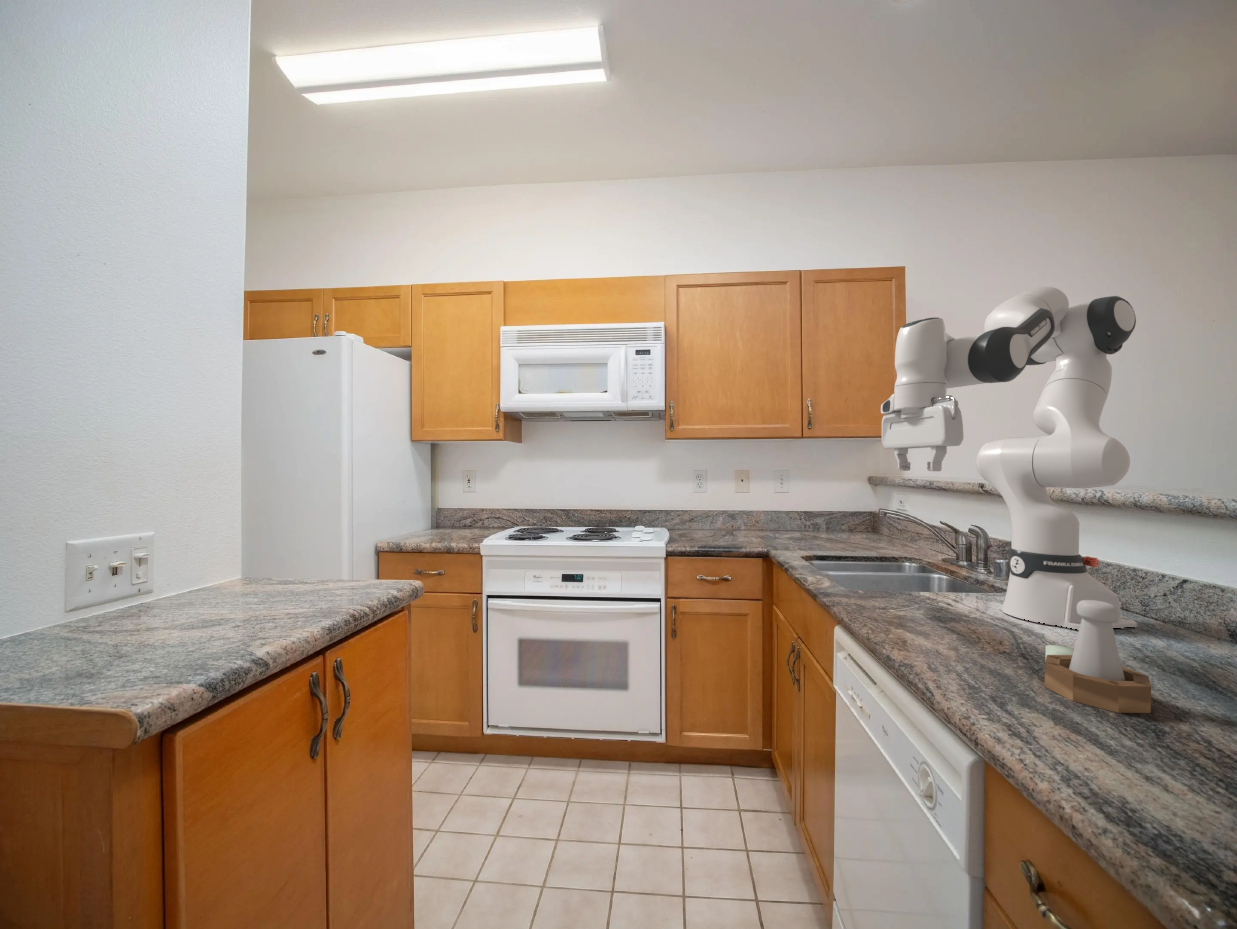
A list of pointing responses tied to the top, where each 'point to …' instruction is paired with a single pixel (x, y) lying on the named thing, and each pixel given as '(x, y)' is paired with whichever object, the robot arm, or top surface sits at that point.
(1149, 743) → the top surface
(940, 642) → the top surface
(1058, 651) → the smooth pale green pebble
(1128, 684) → the walnut ring
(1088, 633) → the salt shaker
